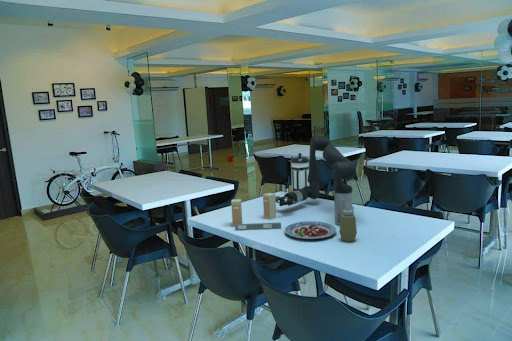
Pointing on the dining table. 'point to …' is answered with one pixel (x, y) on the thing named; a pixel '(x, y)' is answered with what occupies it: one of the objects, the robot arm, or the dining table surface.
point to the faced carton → (236, 211)
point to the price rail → (258, 226)
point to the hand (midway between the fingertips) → (274, 203)
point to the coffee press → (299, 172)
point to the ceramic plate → (310, 230)
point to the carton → (269, 205)
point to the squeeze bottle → (348, 225)
